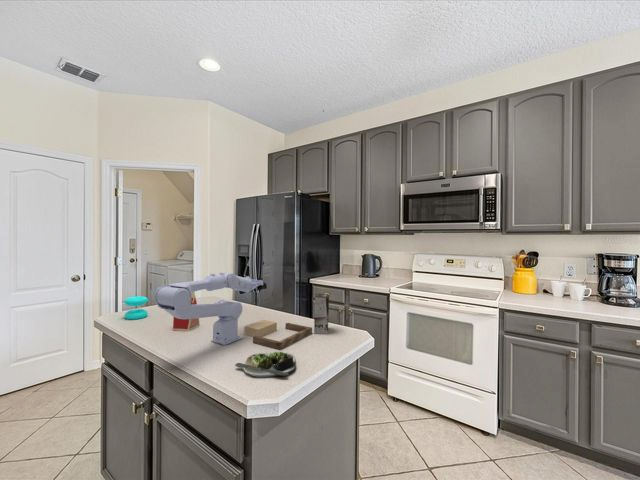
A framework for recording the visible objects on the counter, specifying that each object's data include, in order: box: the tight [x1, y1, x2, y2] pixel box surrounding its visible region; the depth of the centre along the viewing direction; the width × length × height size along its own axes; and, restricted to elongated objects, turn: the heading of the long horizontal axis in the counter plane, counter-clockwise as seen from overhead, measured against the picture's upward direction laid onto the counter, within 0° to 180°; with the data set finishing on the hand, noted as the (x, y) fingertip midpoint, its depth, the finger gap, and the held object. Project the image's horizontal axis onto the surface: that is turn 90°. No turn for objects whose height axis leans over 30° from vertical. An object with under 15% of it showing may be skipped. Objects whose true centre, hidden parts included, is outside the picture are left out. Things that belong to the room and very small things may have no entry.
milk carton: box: [172, 291, 201, 332], centre depth 136 cm, size 9×9×20 cm
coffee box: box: [313, 293, 330, 335], centre depth 136 cm, size 9×6×16 cm
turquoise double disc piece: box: [124, 295, 149, 320], centre depth 151 cm, size 10×10×10 cm
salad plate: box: [235, 351, 297, 378], centre depth 97 cm, size 19×18×5 cm
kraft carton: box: [243, 319, 278, 338], centre depth 132 cm, size 12×8×4 cm, turn 149°
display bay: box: [252, 322, 313, 351], centre depth 125 cm, size 23×14×2 cm, turn 150°
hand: (259, 287), depth 140 cm, fingers open, 7 cm apart
